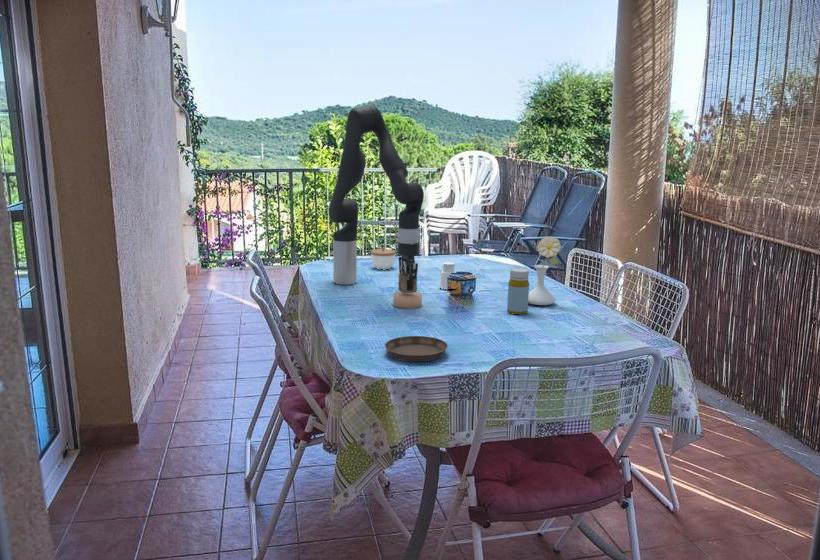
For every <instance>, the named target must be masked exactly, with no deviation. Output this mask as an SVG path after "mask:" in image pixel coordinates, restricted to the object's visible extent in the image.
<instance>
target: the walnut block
mask: <svg viewBox="0 0 820 560" xmlns="http://www.w3.org/2000/svg"><path fill="white" fill-rule="evenodd" d="M398 291H401V292H402V293H414V292H418V277H417V278H416V279H414V286H413V290H412V291H408V290H407V274H406V273H398Z"/></svg>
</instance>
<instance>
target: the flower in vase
mask: <svg viewBox="0 0 820 560" xmlns="http://www.w3.org/2000/svg"><path fill="white" fill-rule="evenodd" d="M560 242H561V241H560V240H559V239H558V238H555V236H553V237H552V236H551V235H550V236H546V237H544V238H541V240H540V241H539V242H538V244H537V247H536V248H537V251H538V254H539V255H540V256H542V257H545V258H547V260H546V261H545V262H544V261H543V260H542V259H540V258H538V257H537V256H535V258H536V259H537V260H539V261H541V262H542V263H543V264H536V265H534V268H535V270H536V272H537V274H536V275H537V284H536V286H535V287H534V288H533V289H531V290H529V296H528V304H529V305H530V304H531V305H535V306H548V305H549V306H550V305H553V304H554V303H555V302H556V301H557V299H556V297H555V296H554V295H553V294H552V293H551V292H550V291H549V290H548V289H547V288H546V287H545V276H546V272H547V270H548V269H549V268H550V266H549V265H546V264H547V262H549V264H550V265H553V266H554V265H559V264H560V262H559V261H558V259H557V258H555V256H557V255H558V253H559V252H560V250H561V248H562V246H561V243H560Z"/></svg>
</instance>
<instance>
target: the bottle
mask: <svg viewBox="0 0 820 560" xmlns="http://www.w3.org/2000/svg"><path fill="white" fill-rule="evenodd" d="M509 271H510V272H509V276H510V277H509V280H508V283H507V287H508V289H507V305H506V306H507V307H506V311H507V312H508V314H510V313H513V314H512V315H514V314H524V315H526V314H527V313H528V312H529V311H528V309H529V303H528V296H529V292H530V282H529V272H530V271H529V269H527V268H523V267H521V268H520V267H514V268H511V269H510V270H509ZM525 313H526V314H525Z"/></svg>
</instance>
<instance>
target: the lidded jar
mask: <svg viewBox="0 0 820 560" xmlns="http://www.w3.org/2000/svg"><path fill="white" fill-rule="evenodd" d="M396 252H397V251H396V250H394V249H390V248H389V249H388V248H385V247H384V246H382V248H377V249H376V248H375V249H372V250H370V257H371V263H372V265H373V266H374V268H375V269H376V268H377V269H376V270H378V269H389V270H390V269H391V268H392V267H393V265H394V264H395V261H396V254H397V253H396Z"/></svg>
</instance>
